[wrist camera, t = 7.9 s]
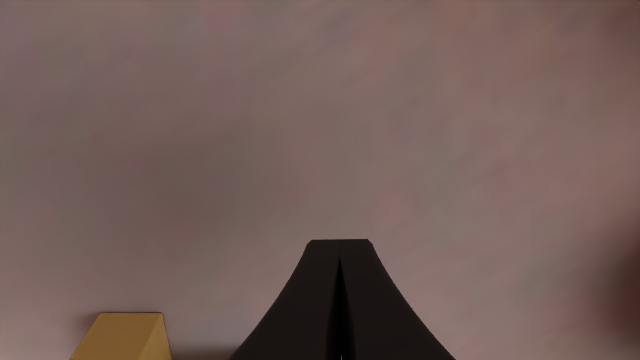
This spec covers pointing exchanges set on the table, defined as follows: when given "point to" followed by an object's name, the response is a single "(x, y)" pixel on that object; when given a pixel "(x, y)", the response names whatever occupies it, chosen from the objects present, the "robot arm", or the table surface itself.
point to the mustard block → (125, 338)
